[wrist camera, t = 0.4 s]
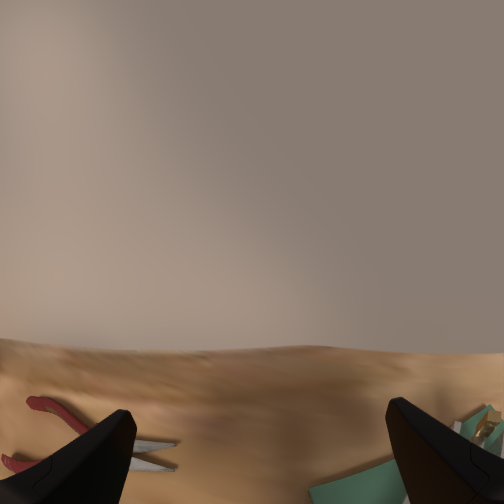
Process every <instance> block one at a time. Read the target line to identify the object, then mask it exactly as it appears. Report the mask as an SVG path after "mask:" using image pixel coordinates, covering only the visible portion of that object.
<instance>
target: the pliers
mask: <svg viewBox="0 0 504 504" xmlns="http://www.w3.org/2000/svg"><path fill="white" fill-rule="evenodd" d="M26 403H27V404H28V406H29V407H30V408H31V409H34V410H39V411H44V412H50V413H53V414H55V415H57V416H59V417H60V418H62V419H63V420H64V421H65V422H66V423H67V424H68V425H69V426H70V427H72V428H73V429H74V430H75V431H76V432H77V433H78V434H79V435H82V434H83V433H85V432H86V431H88V430H89V429H90V428H89V427H88V426H87V425H85V424H84V423H83V422H82V421H81V420H79V419H78V418H77V417H76V416H75V415H73V414H72V413H71V412H70V411H69V410H68V409H67V408H66V407H64V406H63V405H62V404H60V403H58V402H57V401H55V400H53V399H50V398H43V397H35V396H30V397H28V398H27V400H26ZM97 424H98V423H96V424H95V425H97ZM95 425H94V426H95ZM94 426H93V427H94ZM175 446H176V444H174V443H161V442H151V441H142V440H135V443H134V449H133V454H136V453H145V452H151V451H156V450H161V449H166V448H170V447H175ZM1 459H2V462H3V464H4V465H5V466H6V467H7V468H8V469H9V470H11V471H13V472H15V473H19V472H21V471H23V470H26V469H28V468H30V467H31V466H33V465H35V464H37V463H39V462H40V461H42V460H40V461H36V462H20V461H17V460H15V459H13V458H10V457H8V456H6V455H4V454H2V458H1ZM129 470H137V471H158V472H175V470H174V469H170V468H166V467H163V466H159V465H156V464H152V463H149V462H146V461H143V460H140V459H137V458H133V457H132V459H131V464H130V467H129Z"/></svg>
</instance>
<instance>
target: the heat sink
mask: <svg viewBox="0 0 504 504" xmlns="http://www.w3.org/2000/svg"><path fill="white" fill-rule="evenodd" d="M500 420H501V412H499V411H493V410H488V411H487V412H486V414H485V415H484V416H483V418H482V419H481V420H480V422H479V423H478V424H477V425H476V431H475V434H474V435H473V436H472V437H471V438H470V439H469V440H470V442H473V443H475V444H476V445H478V446H480V447H481V448H483V447H484V442H485V438H488V437H489V435H490V434H491V433H492V432H493V431H494V430H495V429H496V427H497V426H498V425H499V424H500ZM461 423H462V422H457V421H455V422H454V423H453V425H452V426H451V427H450V429H452V430H454V431H455V432H457V433H458V434H459V433H460V428H461ZM486 450H487V451H488V452H490V453H493V454H495V455H497V456H499V457H501V458H504V431H503V432H502V433H501V434H500V435H499V436H498V437H497V439H496V440H495V441H494V442H493V443H492V444H491V445H490V446H489V447H488V448H487V449H486ZM399 504H410V502H409V498H408V495H407V492H406V490H405V492H404V494H403V496H402V498H401V501H400V503H399Z"/></svg>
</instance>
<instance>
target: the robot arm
mask: <svg viewBox="0 0 504 504" xmlns="http://www.w3.org/2000/svg"><path fill="white" fill-rule="evenodd" d="M385 420H386V424H387V428H388V433H389V437H390V441H391V446H392V450H393V454H394V457H395V461H396V463H397V466H398V469H399V472H400V475H401V478H402V480H403V483H404V486H405V489H406V492H407V495H408V498H409V502H410V504H504V458H501V457H499V456H497V455H495V454H493V453H490V452H488V451H487V450H485V449H483V448H481V447H480V446H478V445H476V444H475V443H473V442H470V440H468V439H466V438H465V437H463V436H462V435H460V434H458V433H457V432H455V431H454V430H452V429H450V428H449V427H447V426H446V425H444V424H443V423H441V422H439V421H438V420H436V419H435V418H433V417H432V416H430V415H429V414H427V413H426V412H424V411H422V410H421V409H419V408H418V407H416V406H415V405H413V404H412V403H410V402H409V401H407V400H406V399H404V398H403V397H397V398H393V399H391V400H390V401H389V405H388V408H387V411H386V415H385ZM136 433H137V426H136V423H135V421H134V419H133V417H132V415H131V413H130V412H129V411H128V410H122V409H118V410H116V411H115V412H114V413H112V414H111V415H109V416H108V417H107V418H105V419H104V420H102V421H101V422H99V423H98V424H97V425H95V426H94V427H92V428H91V429H89V430H88V431H86V432H85V433H83V434H82V435H80V436H79V437H78V438H76V439H75V440H73V441H72V442H70V443H69V444H67V445H66V446H64V447H63V448H61V449H59V450H58V451H56V452H55V453H53V455H50V456H49V457H47V458H45V459H44V460H42V461H40V462H39V463H37V464H35V465H33V466H31V467H30V468H28V469H26V470H23V471H21V472H19V473H17V474H15V475H13V476H10V477H8V478H6V479H3V480H0V504H119V501H120V497H121V494H122V491H123V487H124V484H125V481H126V477H127V474H128V471H129V467H130V464H131V459H132V454H133V449H134V443H135V438H136Z"/></svg>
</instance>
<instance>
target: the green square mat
mask: <svg viewBox="0 0 504 504" xmlns="http://www.w3.org/2000/svg"><path fill="white" fill-rule="evenodd" d="M488 410H493V411H495V410H494V409H493V407H492V406H491V405H488V406H487V407H486V408H484V409H483V410H481V411H480V412H478V413H477V414H476V415H474V416H473V417H471V418H470V419H468V420H466V421H465V422H463V423H462V424H461V428H460V433H459V434H460V435H462V436H463V437H465V438H466V439H468V440H469V439H470V438H471V437H472V436H473V435H474V434H475V431H476V425H477V424H478V423H479V422H480V420H481V419H482V418H483V416H484V415H485V414H486V412H487V411H488ZM503 431H504V422H503V420H502V419H501V420H500V424H499V425H498V426H497V427H496V429H495V430H494V431H493V432H492V433H491V434H490V435H489V437H488V438H485V442H484V447H483V449H485V450H486V449H487V448H488V447H489V446H490V445H491V444H492V443H493V442H494V441H495V440H496V439H497V437H498V436H499V435H500V434H501V433H502V432H503ZM405 490H406V489H405V486H404V483H403V480H402V478H401V475H400V472H399V469H398V466H397V463H396V461H395V459H393V460H391V461H389V462H386V463H384V464H381V465H379V466H376V467H374V468H371V469H368V470H366V471H363V472H360V473H357V474H354V475H351V476H348V477H345V478H342V479H339V480H336V481H332V482H329V483H325V484H322V485H318V486H314V487H310V488H309V490H308V492H309V495H310V498H311V502H312V504H399V503H400V501H401V498H402V496H403V494H404V492H405Z"/></svg>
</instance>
